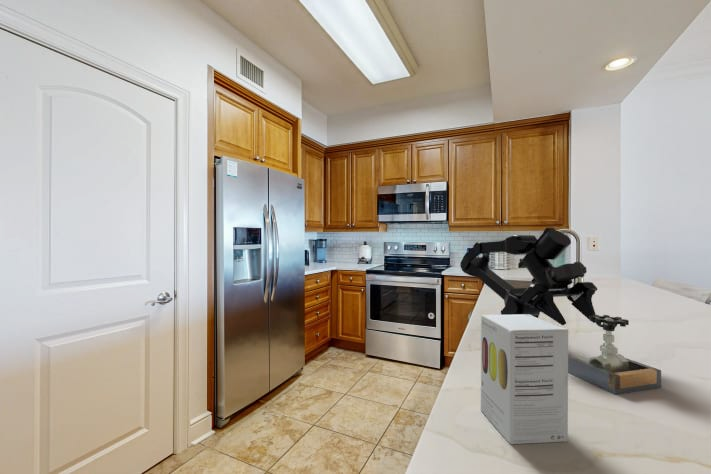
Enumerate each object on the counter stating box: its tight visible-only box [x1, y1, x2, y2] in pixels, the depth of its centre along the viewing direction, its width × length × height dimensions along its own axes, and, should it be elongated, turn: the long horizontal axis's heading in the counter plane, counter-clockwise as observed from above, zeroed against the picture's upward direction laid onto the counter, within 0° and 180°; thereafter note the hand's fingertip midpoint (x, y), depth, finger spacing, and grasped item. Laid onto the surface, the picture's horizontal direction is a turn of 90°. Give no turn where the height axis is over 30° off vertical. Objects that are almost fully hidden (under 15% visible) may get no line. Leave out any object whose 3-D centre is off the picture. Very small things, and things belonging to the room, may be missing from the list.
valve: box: [588, 314, 630, 373], centre depth 67 cm, size 7×7×12 cm
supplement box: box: [480, 314, 569, 445], centre depth 50 cm, size 10×9×17 cm
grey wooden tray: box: [568, 354, 662, 395], centre depth 67 cm, size 11×12×4 cm
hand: (580, 323), depth 74 cm, fingers open, 9 cm apart
